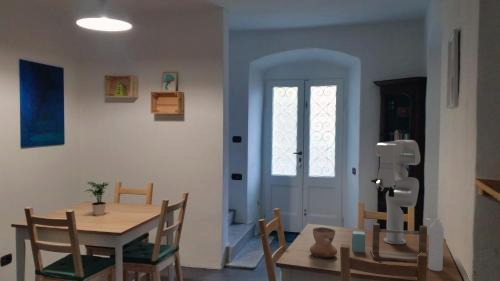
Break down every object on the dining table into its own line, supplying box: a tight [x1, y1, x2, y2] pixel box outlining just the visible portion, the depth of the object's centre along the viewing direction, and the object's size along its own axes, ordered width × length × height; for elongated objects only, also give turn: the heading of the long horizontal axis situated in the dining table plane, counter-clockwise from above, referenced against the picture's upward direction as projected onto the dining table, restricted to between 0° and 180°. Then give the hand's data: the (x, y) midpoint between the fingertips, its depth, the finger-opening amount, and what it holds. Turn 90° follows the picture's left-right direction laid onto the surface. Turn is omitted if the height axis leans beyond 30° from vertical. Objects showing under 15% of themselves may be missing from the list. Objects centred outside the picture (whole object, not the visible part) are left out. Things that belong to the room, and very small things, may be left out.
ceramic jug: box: [309, 226, 338, 259], centre depth 217 cm, size 18×14×14 cm
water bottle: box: [424, 217, 445, 272], centre depth 198 cm, size 9×6×25 cm
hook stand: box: [369, 222, 428, 263], centre depth 215 cm, size 12×28×18 cm, turn 82°
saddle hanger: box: [351, 230, 366, 253], centre depth 227 cm, size 6×6×10 cm
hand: (385, 197), depth 222 cm, fingers open, 9 cm apart
